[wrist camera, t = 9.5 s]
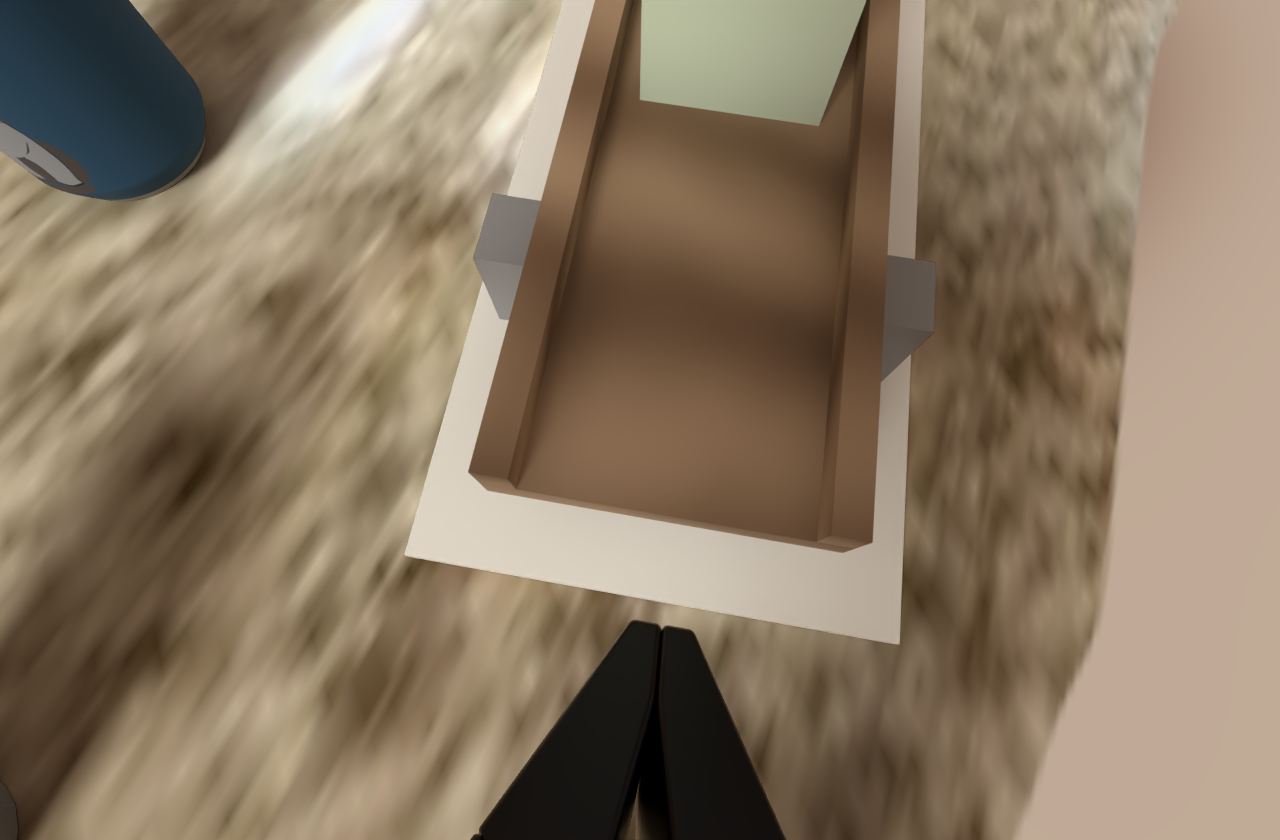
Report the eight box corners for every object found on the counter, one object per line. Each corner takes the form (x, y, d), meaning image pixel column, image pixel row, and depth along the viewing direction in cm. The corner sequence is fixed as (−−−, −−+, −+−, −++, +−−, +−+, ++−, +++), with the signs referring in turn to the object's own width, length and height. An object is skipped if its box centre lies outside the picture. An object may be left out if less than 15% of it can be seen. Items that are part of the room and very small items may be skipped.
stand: (889, 643, 20) (965, 650, 16) (412, 557, 21) (351, 540, 16) (917, 11, 29) (972, -104, 24) (579, -36, 29) (570, -157, 25)
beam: (835, 555, 18) (903, 531, 13) (491, 495, 18) (447, 452, 14) (876, -37, 25) (929, -176, 21) (635, -70, 25) (635, -214, 21)
